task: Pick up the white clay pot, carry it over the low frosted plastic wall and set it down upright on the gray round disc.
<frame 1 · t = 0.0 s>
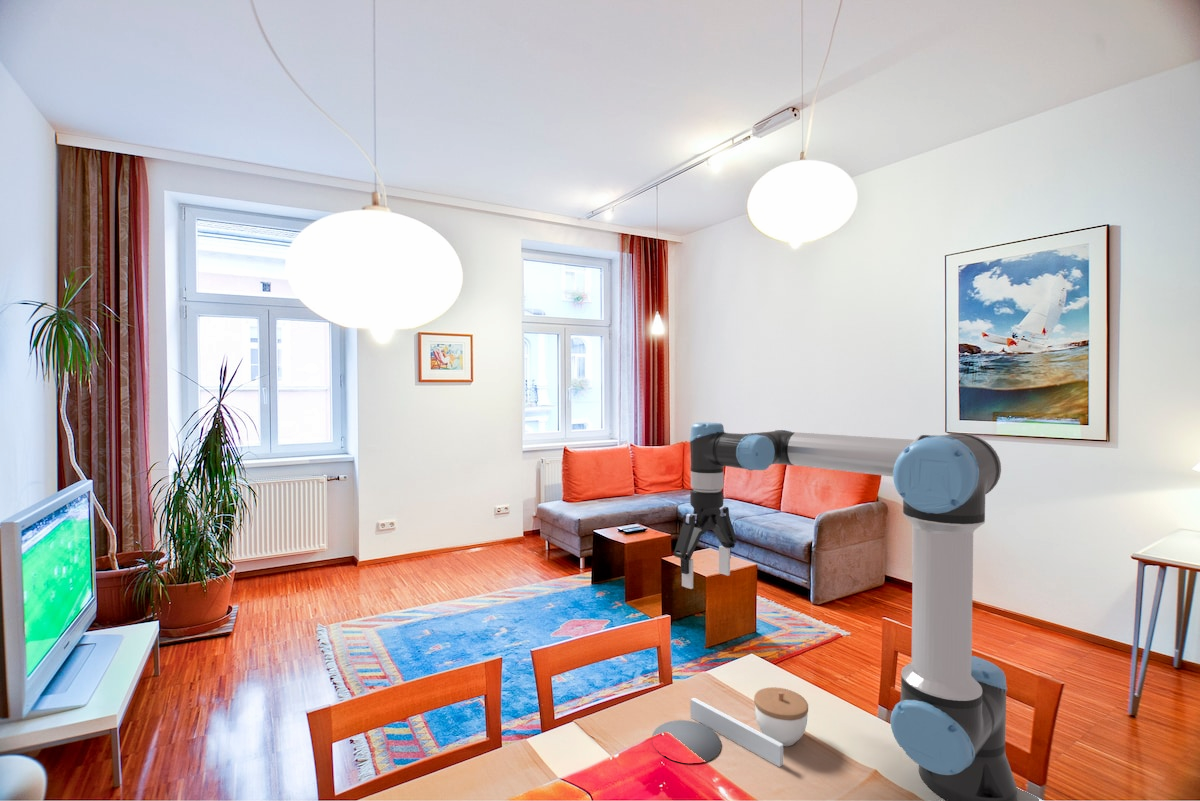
hand: (706, 580, 132), 28 cm above the table, fingers open, 13 cm apart
gray round disc: (686, 741, 117), on the table
lidded jar: (780, 738, 118), on the table
low wall: (733, 739, 117), on the table
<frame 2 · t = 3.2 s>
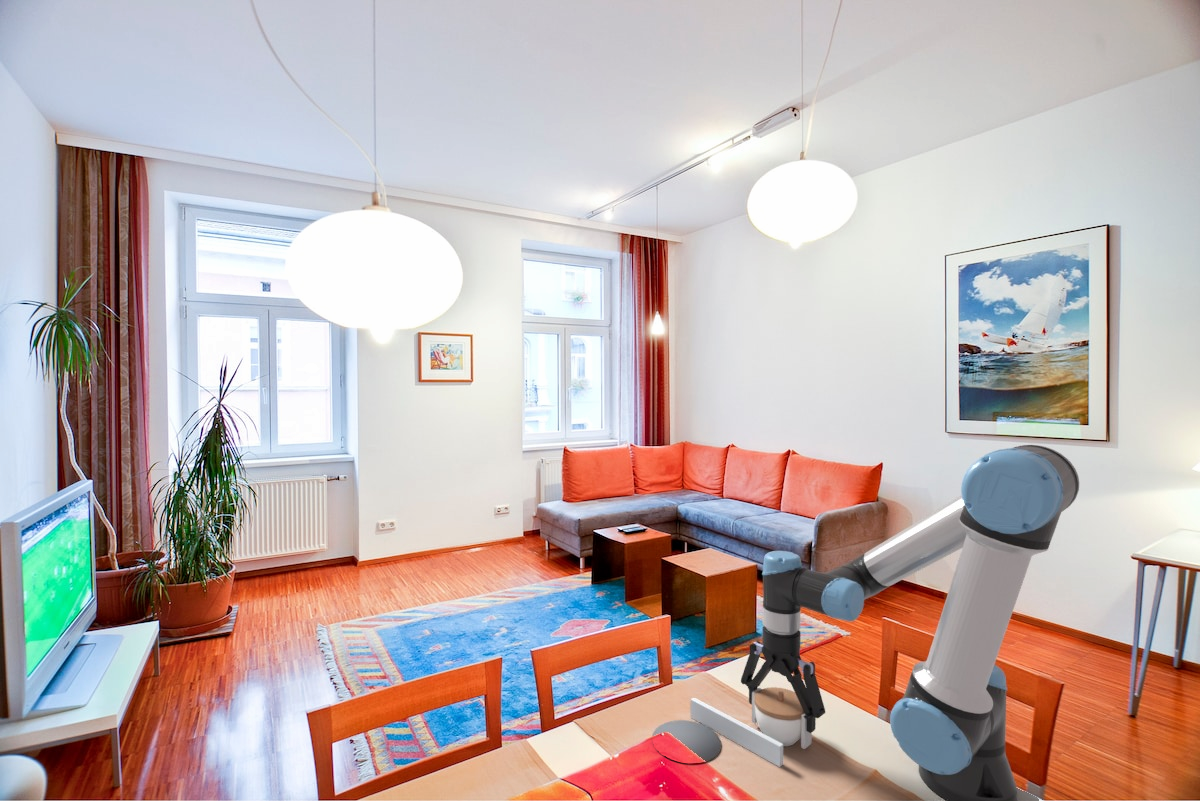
hand: (780, 732, 118), 1 cm above the table, fingers open, 11 cm apart
lidded jar: (780, 738, 118), on the table, touching gripper
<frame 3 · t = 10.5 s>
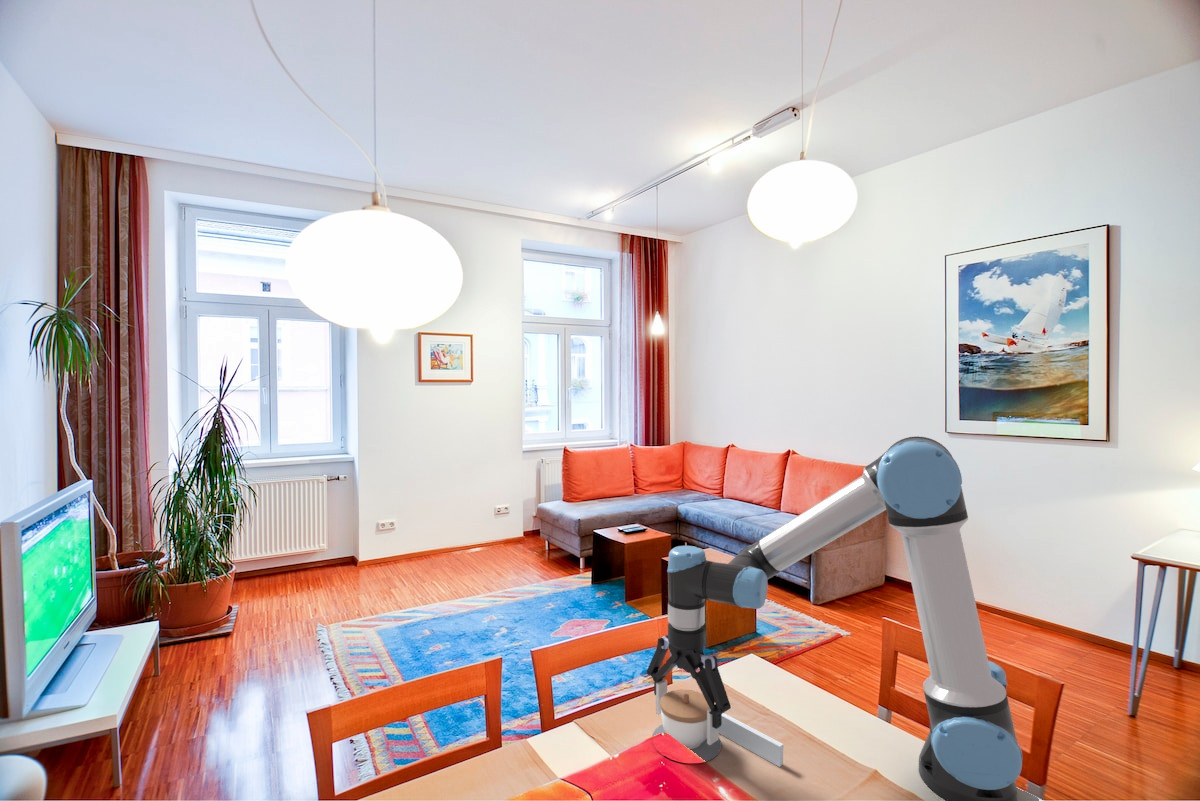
hand: (686, 726, 117), 3 cm above the table, fingers open, 13 cm apart
lidded jar: (686, 741, 117), resting on gray round disc
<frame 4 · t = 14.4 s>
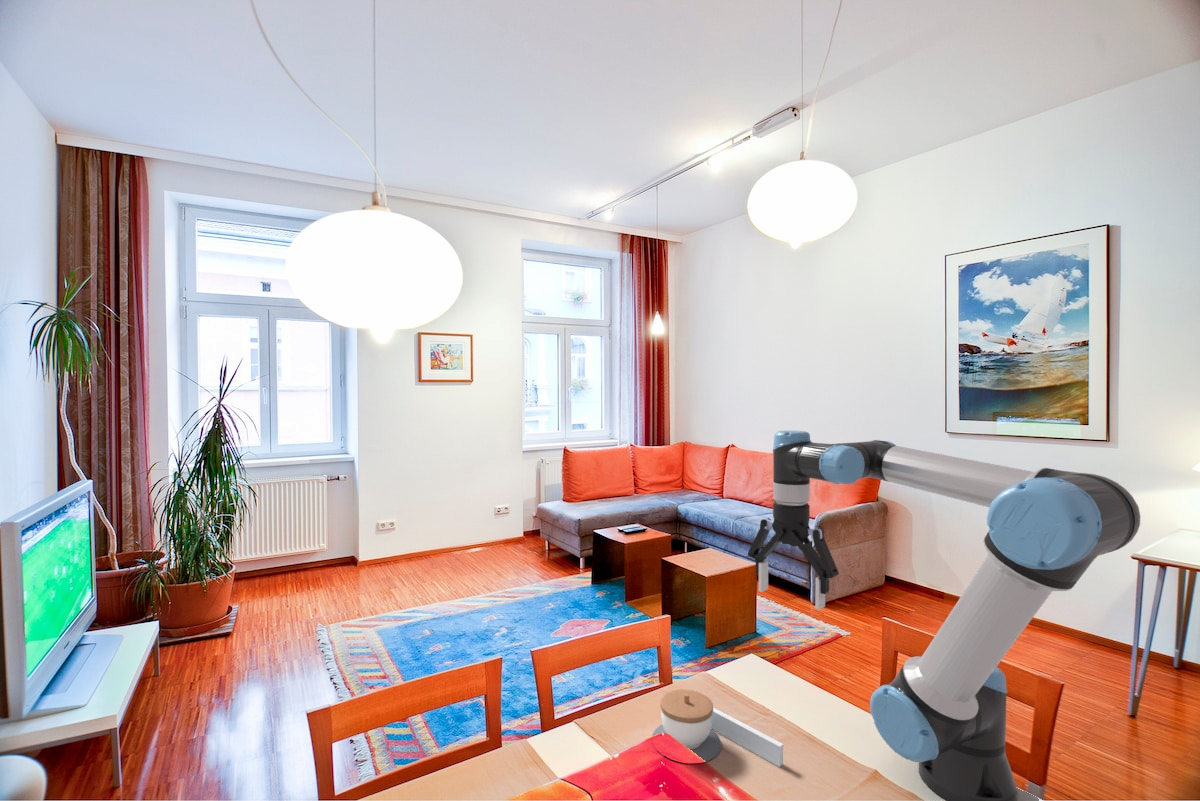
hand: (790, 599, 124), 27 cm above the table, fingers open, 13 cm apart
nothing on the table moved.
at the end: lidded jar 0.1 cm from the gray round disc (horizontally); lidded jar tilted 0°; the gripper is holding nothing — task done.
